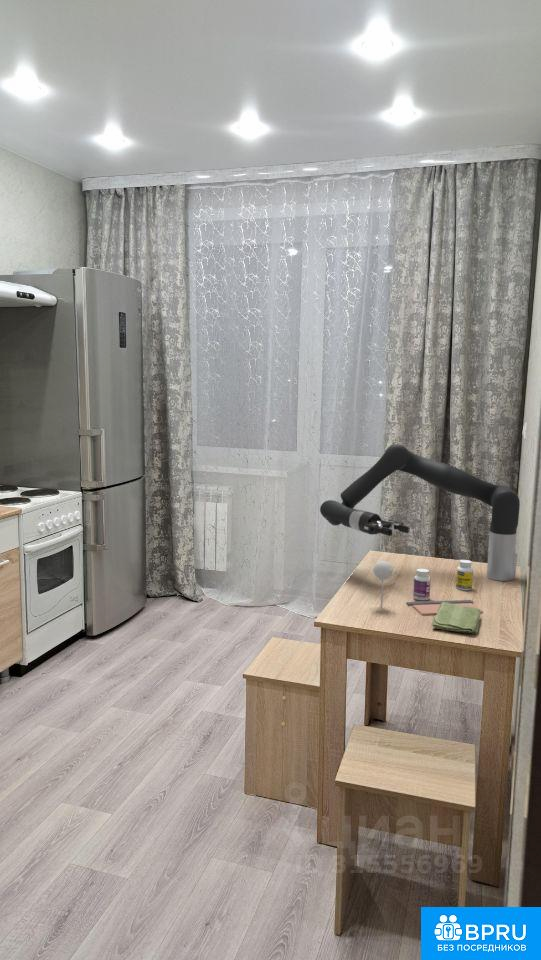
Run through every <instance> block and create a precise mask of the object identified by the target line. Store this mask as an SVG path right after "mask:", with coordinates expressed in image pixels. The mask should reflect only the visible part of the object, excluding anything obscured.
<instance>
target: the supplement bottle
mask: <svg viewBox="0 0 541 960" xmlns="http://www.w3.org/2000/svg"><path fill="white" fill-rule="evenodd" d="M473 575H474V568H473V567H472V561H471V560H468V559H460V560H459V566H457V569H456V579H455V588H456V589H457V590H461V591H471V590H472V589H473V578H474V576H473Z"/></svg>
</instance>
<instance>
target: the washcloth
mask: <svg viewBox="0 0 541 960" xmlns="http://www.w3.org/2000/svg"><path fill="white" fill-rule="evenodd" d="M478 608H479V607H478ZM478 608H473V607H467V606H459V605H455V604H451V603H446V602H442V603H441V605H440V607H439V610H438V612H437V615H434V618H433V620H432V623H431V626H432V627H434V629H439V630H443V631H451V632H458V633H467V634H468V633H469V634H473V635H477V633H479V627H480V620H481V618H480V617H481V613H480V608H479V609H478Z"/></svg>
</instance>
